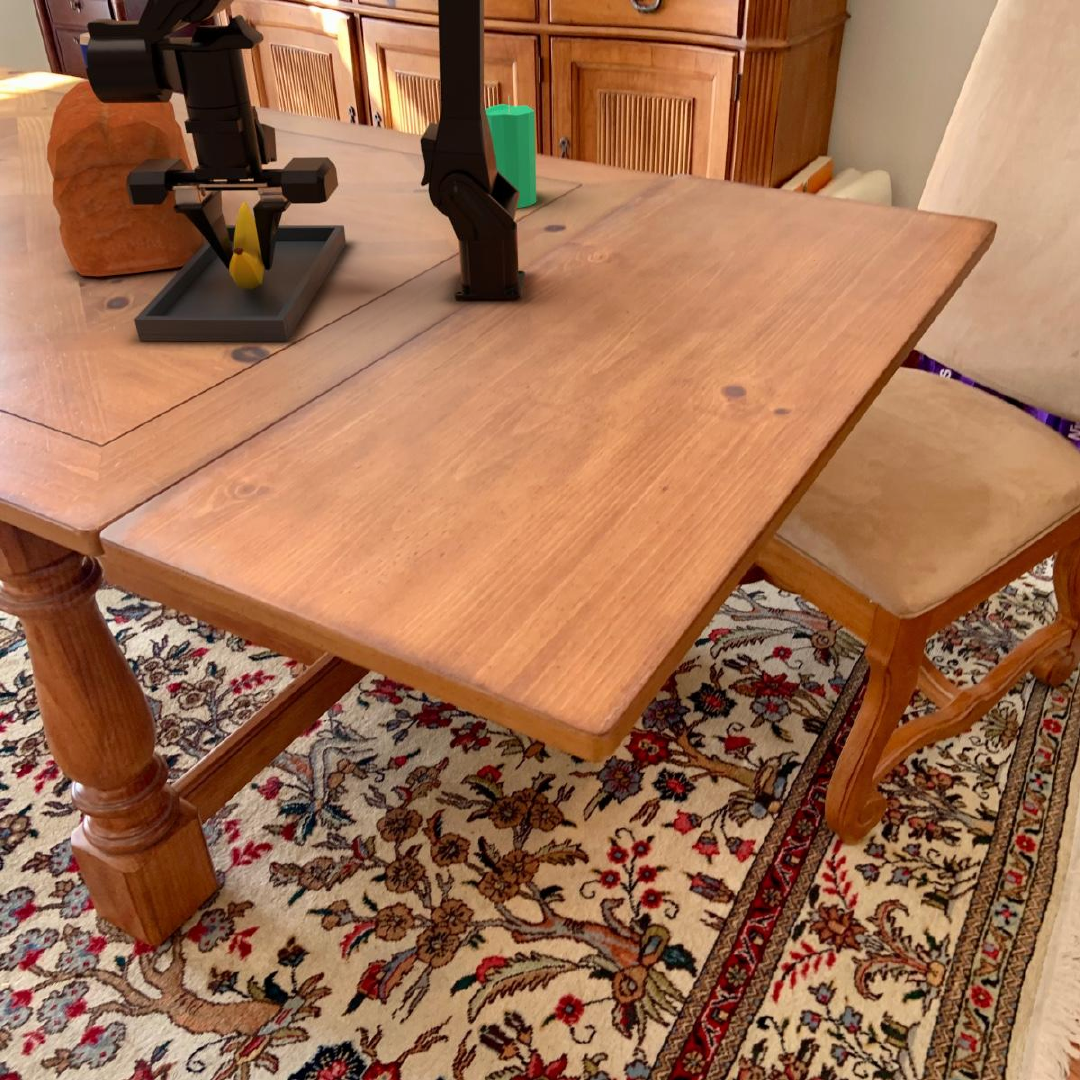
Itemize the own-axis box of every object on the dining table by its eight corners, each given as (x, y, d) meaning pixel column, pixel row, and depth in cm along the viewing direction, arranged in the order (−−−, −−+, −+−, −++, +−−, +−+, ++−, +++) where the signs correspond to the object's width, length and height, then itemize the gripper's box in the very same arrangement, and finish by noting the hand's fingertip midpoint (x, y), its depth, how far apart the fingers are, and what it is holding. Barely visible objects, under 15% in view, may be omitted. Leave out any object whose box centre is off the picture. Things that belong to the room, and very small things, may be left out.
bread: (69, 283, 104) (23, 129, 96) (81, 207, 125) (44, 74, 117) (210, 266, 108) (177, 115, 99) (199, 194, 129) (171, 64, 120)
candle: (531, 209, 121) (528, 102, 114) (482, 207, 122) (476, 100, 115) (541, 194, 126) (539, 90, 119) (494, 192, 127) (489, 89, 120)
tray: (286, 341, 92) (282, 319, 91) (139, 340, 93) (133, 319, 91) (346, 243, 113) (343, 225, 111) (225, 243, 113) (221, 225, 112)
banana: (266, 246, 110) (256, 186, 106) (266, 314, 95) (255, 247, 91) (238, 249, 109) (227, 188, 106) (234, 317, 94) (221, 250, 91)
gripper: (338, 81, 98) (359, 240, 108) (150, 83, 100) (186, 241, 109) (311, 108, 89) (336, 280, 98) (104, 111, 90) (147, 280, 100)
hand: (250, 268), depth 102 cm, fingers closed on banana, 3 cm apart
